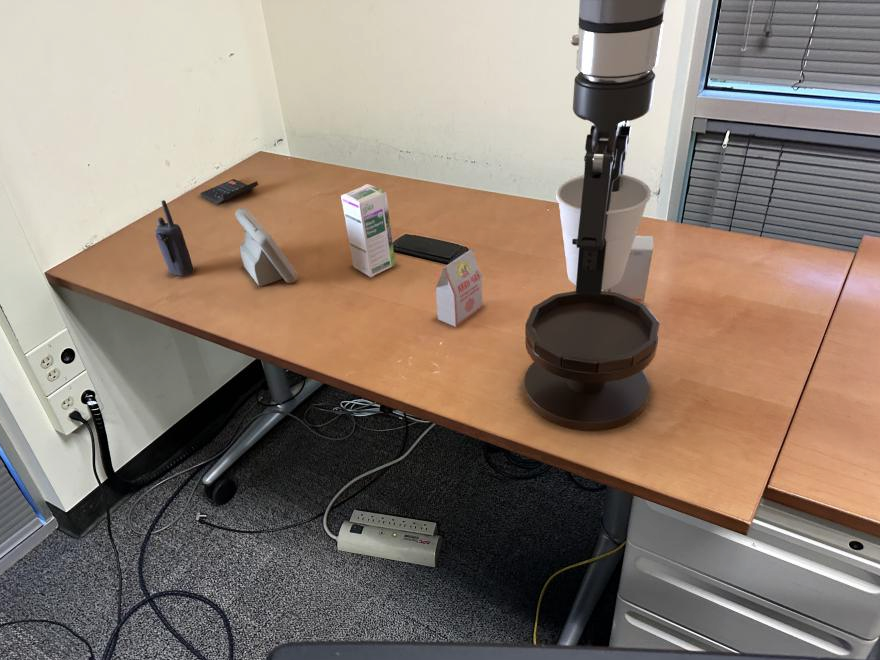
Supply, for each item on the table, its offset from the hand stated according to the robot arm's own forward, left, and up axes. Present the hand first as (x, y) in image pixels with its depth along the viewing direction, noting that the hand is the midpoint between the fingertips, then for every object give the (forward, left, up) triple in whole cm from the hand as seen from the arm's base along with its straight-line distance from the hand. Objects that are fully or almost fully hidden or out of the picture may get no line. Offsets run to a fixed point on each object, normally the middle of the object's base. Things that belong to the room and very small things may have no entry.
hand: (595, 272), depth 81 cm
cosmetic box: (-2, -20, -19) cm, 27 cm away
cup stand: (0, 0, -18) cm, 18 cm away
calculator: (+89, -49, -19) cm, 103 cm away
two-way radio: (+79, -15, -19) cm, 82 cm away
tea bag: (+22, -14, -19) cm, 32 cm away
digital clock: (+61, -20, -19) cm, 67 cm away
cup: (0, 0, -1) cm, 1 cm away
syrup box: (+42, -25, -19) cm, 52 cm away
